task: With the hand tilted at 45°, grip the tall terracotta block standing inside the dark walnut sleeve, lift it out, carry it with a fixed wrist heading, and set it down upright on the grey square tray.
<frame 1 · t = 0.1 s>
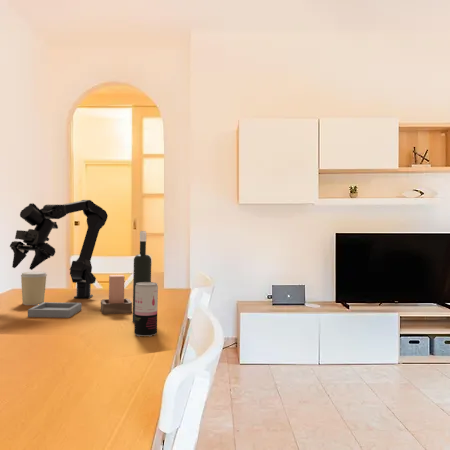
hand: (21, 268, 167), 15 cm above the table, tool tilted 35°, fingers open, 9 cm apart
walnut sleeve: (116, 310, 167), on the table
beverage can: (145, 335, 134), on the table
terracotta block: (116, 293, 167), in the walnut sleeve
coffee cup: (33, 303, 179), on the table
grey square tray: (55, 313, 161), on the table
wine bottle: (141, 322, 151), on the table
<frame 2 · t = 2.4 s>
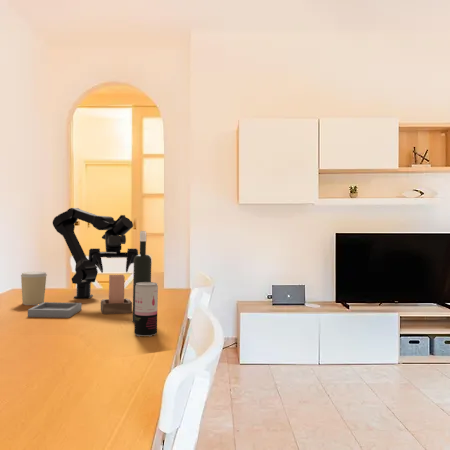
hand: (114, 271, 175), 13 cm above the table, tool tilted 45°, fingers open, 9 cm apart
nothing on the table moved.
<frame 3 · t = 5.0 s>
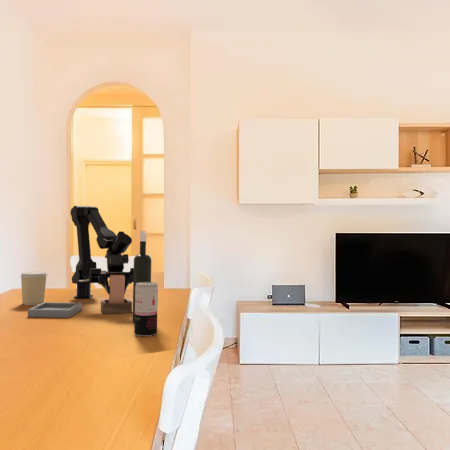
hand: (116, 293, 166), 7 cm above the table, tool tilted 45°, fingers closed on terracotta block, 5 cm apart
terracotta block: (116, 293, 167), in the walnut sleeve, touching gripper
everything else where it was.
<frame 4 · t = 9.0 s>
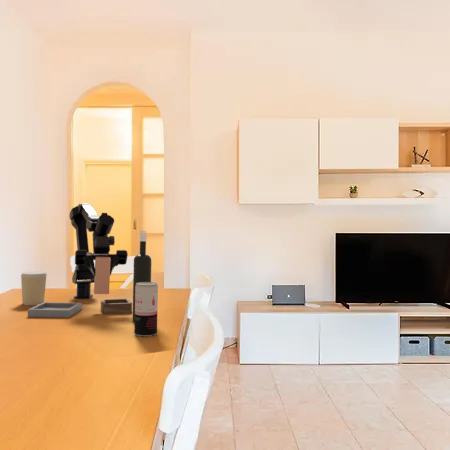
hand: (102, 275, 164), 13 cm above the table, tool tilted 45°, fingers closed on terracotta block, 5 cm apart
terracotta block: (102, 275, 166), point 13 cm above the table, touching gripper
everything else where it was.
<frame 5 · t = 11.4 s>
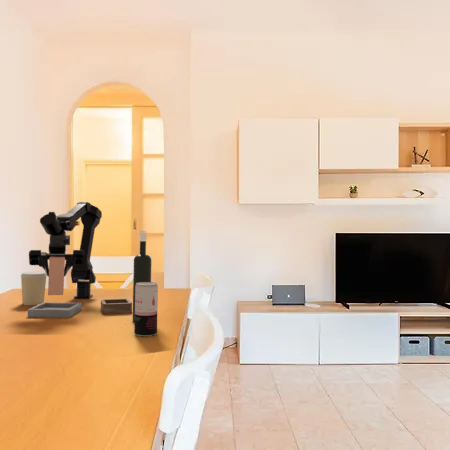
hand: (56, 275, 160), 13 cm above the table, tool tilted 45°, fingers closed on terracotta block, 5 cm apart
terracotta block: (56, 275, 161), point 13 cm above the table, touching gripper
everything else where it was.
when the fingers open (9 cm above the table, at t = 13.1 s): terracotta block drops 1 cm, resting on grey square tray.
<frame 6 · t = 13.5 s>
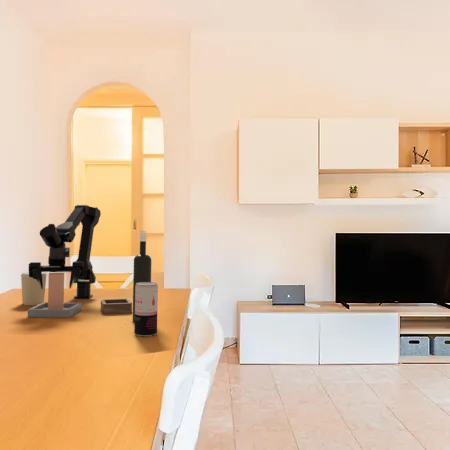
hand: (56, 288, 160), 9 cm above the table, tool tilted 45°, fingers open, 9 cm apart
terracotta block: (56, 292, 161), in the grey square tray, point 8 cm above the table
everything else where it was.
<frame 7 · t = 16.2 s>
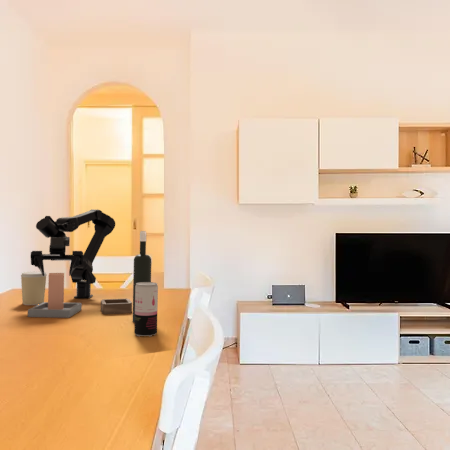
hand: (56, 275, 168), 13 cm above the table, tool tilted 45°, fingers open, 9 cm apart
nothing on the table moved.
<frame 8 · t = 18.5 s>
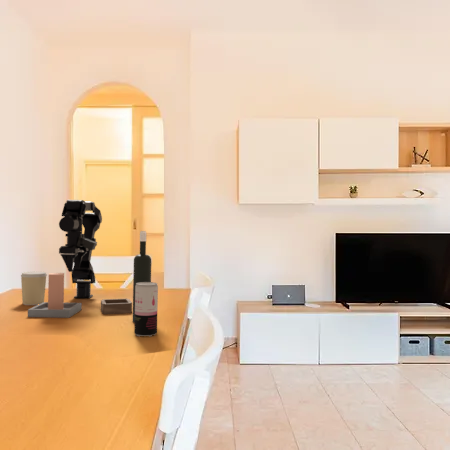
hand: (74, 270, 181), 13 cm above the table, tool pointing down, fingers open, 9 cm apart
nothing on the table moved.
at the end: terracotta block inside the target area on the grey square tray (0.0 cm from its centre), point 7.5 cm above the grey square tray's base; terracotta block tilted 0°; the gripper is holding nothing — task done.
